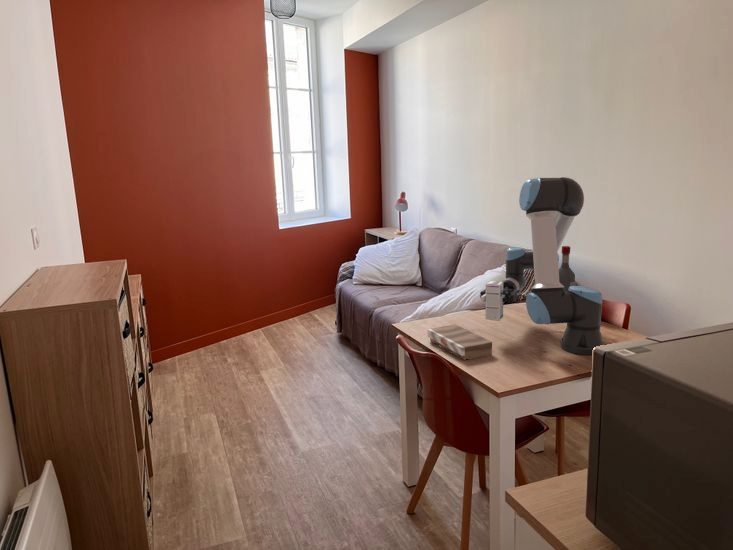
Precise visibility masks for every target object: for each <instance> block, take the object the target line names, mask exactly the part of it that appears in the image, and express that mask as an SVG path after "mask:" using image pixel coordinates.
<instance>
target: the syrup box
mask: <svg viewBox="0 0 733 550" xmlns="http://www.w3.org/2000/svg"><path fill="white" fill-rule="evenodd" d="M485 289H486V302H485V320H487V321H496V322H501V320H502V319H503V318H504V303H502V304H501V305H500V306H499V305H498V298H499V297H501V296H502V295H503V282H502V281H499V280H498V281H497V280H490V281H488V282H487V283H486V284H485Z"/></svg>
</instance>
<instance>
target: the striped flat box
mask: <svg viewBox="0 0 733 550" xmlns="http://www.w3.org/2000/svg"><path fill="white" fill-rule="evenodd" d="M427 337H428V338H429V339H430V340H431V341H430V340H429V341H430V342H432V341H433V342H435V343H436V344H435V343H434V344H435V345H437V344H438V345H440V346H441V347H440V346H439V347H440V348H442V347H443V348H442V349H444V348H445V349H446V351H447V350H448V351H447V352H449V351H450V352H449V353H451V352H452V353H453V355H454V354H455V355H454V356H456V355H457V356H456V357H458V356H459V357H461V358H462V359H461V358H460V359H461V360H463V359H464V360H465V361H467V360H466V359H470V360H473V358H474V359H478V357H479V358H483V357H487V356H492V355H493V341H491V340H489V339H487V338H485V337H482V336H480V335H479V334H477V333H474V332H472V331H470V330H468V329H466V328H464V327H462V326H459V325H458V324H456V323H455V324H450V325H445V326H439V327H433V328H428V329H427ZM433 342H432V343H433ZM438 345H437V346H438ZM445 349H444V350H445ZM452 353H451V354H452ZM459 357H458V358H459ZM464 360H463V361H464Z"/></svg>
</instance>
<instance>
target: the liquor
mask: <svg viewBox="0 0 733 550" xmlns="http://www.w3.org/2000/svg"><path fill="white" fill-rule="evenodd" d="M570 254H571V246H569V245H563V246H561V265H560V267H558V269H559V282H560V283H561V284H562V285H563V286H564V292H566V291H569V290H568V289H569V287H570V286H576V285H575V284H576V275H575V272H574V271H573V270H572V268H571V267H570V263H569V262H570Z"/></svg>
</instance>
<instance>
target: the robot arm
mask: <svg viewBox="0 0 733 550" xmlns="http://www.w3.org/2000/svg"><path fill="white" fill-rule="evenodd" d="M584 194H585V193H584V191H583V189H582V186H581V185H580V184H579V183H578V182H577V181H575V180H574V179H573V178H570V177H566V176H565V177H535V178H528V179H527V180H525V181H524V182H523V184H522V186H521V189H520V192H519V197H518V198H519V199H518V202H519V206H520V208H519V209H521V210H522V211H524V212H525V214H526V217H527V218H528V219H529V220H530V228H531V229H530V230H531V240H532V241H531V244H532V251H525V248H523V247H517V246H515V247H509V248H507V249H506V253H505V279H503V280H502V281H501V282H503V295H502V296H501V297H499V298H498V305H499V306H500V305H501V304H502V303H503V304H504V303H507V302H509V301H510V302H515V300H516V299H517V298H520V296H521V295H520V294H521V293H520V292H521V291H522V290H523V289H524V288H525V286H526V283H527V280H526V278H525V275H524V274H525V273H524V272H525V270H533V273H534V285H533V286H531V288H530V291H531V292H529V293H528V294H526V298H525V305H526V311H527V315H528V316H529V318H530V319H531V320H532V322H533V323H535V324H537V325H551V324H552V325H553V324H554V325H555V324H566V328H565V330H564V333H563V335H562V337H561V340H560V347H561V348H562V350H563V351H566V352H568V353H573V354H576V353H577V355H584V354H588V356H589V354H591V355H592V350H593V348H594V347H596V346H600V345H604V346H605V343H604V340H603V336H602V332H601V323H602V309H603V308H602V307H603V295H602V292H600V291H599V290H598V289H596V288H592V287H587V286H582V285H581V286H580V285H575V286H570V287H569V289H568V290H569V291H566V292H564V286H563V285H562V284H561V283H560V282H559V261H560V255H559V253H558V251H559V249H560V247H562V246H561V245H562V243H563V241H564V239H565V237H566V235H567V233H568V231H569V229H570V227H571V225H572V223H573V221H574V219H575V217H577V216H579V214H580V213H581V211H582V209H583V207H584V202H585V195H584ZM479 297H480V304H482V305H483V304H484V303H485V304H486V288H485V289H483V290H481V291H480V294H479ZM591 355H590V356H591Z"/></svg>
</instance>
